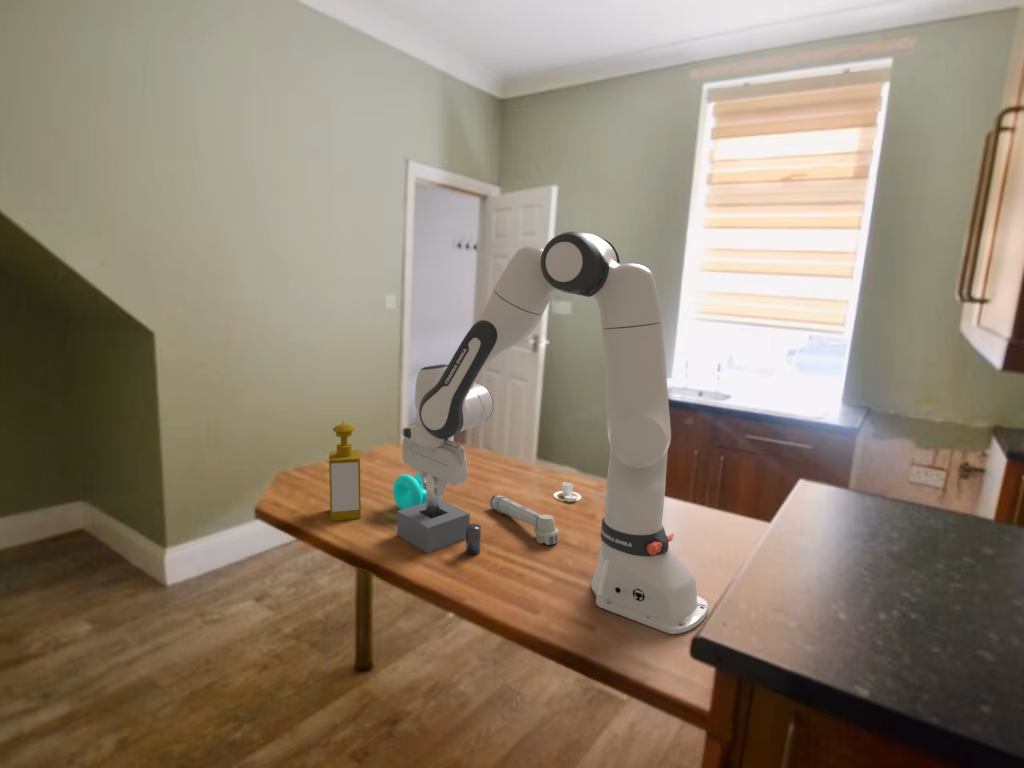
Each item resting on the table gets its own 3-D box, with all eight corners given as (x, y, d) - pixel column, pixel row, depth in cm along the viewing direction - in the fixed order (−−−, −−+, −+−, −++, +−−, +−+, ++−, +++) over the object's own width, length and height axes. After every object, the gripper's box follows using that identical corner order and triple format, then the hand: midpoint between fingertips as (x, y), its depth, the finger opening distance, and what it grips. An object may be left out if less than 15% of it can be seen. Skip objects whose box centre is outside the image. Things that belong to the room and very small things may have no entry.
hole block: (469, 537, 131) (469, 513, 130) (427, 553, 123) (427, 528, 122) (437, 521, 139) (438, 498, 138) (397, 534, 131) (397, 511, 130)
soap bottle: (358, 499, 151) (357, 415, 147) (360, 518, 139) (359, 427, 135) (330, 501, 149) (328, 416, 145) (330, 521, 137) (328, 428, 133)
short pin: (483, 552, 124) (483, 527, 123) (472, 557, 122) (472, 531, 121) (473, 547, 126) (474, 522, 125) (462, 551, 124) (463, 526, 123)
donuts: (390, 508, 146) (390, 472, 145) (419, 497, 154) (420, 463, 152) (415, 519, 140) (415, 481, 138) (444, 508, 148) (445, 472, 146)
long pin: (442, 519, 130) (443, 466, 128) (431, 522, 128) (432, 469, 126) (434, 514, 132) (435, 462, 130) (423, 518, 130) (423, 465, 128)
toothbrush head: (504, 492, 150) (563, 513, 129) (505, 516, 151) (564, 541, 130) (487, 495, 147) (544, 517, 126) (488, 520, 148) (546, 547, 127)
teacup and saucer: (577, 505, 154) (578, 491, 153) (549, 501, 156) (550, 487, 155) (583, 495, 162) (584, 481, 161) (557, 490, 164) (558, 477, 163)
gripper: (474, 442, 122) (472, 502, 124) (419, 423, 136) (418, 477, 138) (452, 447, 117) (450, 509, 120) (397, 427, 131) (397, 483, 134)
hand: (433, 492), depth 129 cm, fingers closed on long pin, 3 cm apart
